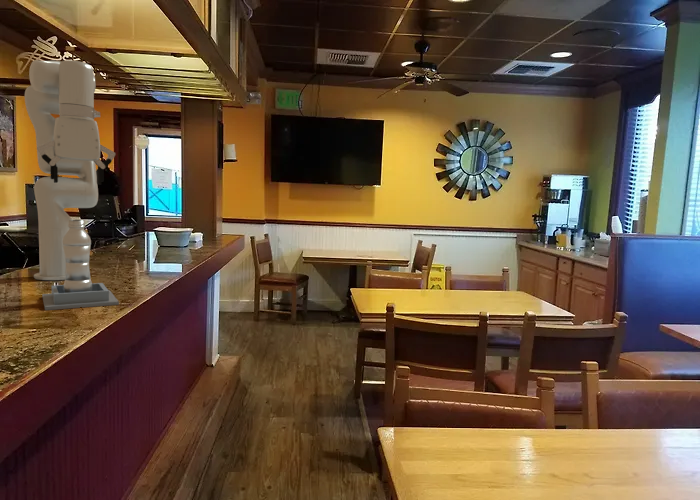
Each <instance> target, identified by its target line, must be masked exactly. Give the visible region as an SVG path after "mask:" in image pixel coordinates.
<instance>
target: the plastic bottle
mask: <svg viewBox="0 0 700 500" xmlns="http://www.w3.org/2000/svg"><path fill="white" fill-rule="evenodd" d="M68 227H69V231H68V232H67V233H66V234H65V236H64V238H63V248H64V253H65V261H66V273H65V280H63V281H64V283H63V285H64V293H72V292H88V291H92V283H93V282H92V279H91V272H90V271H91V270H90V255H91V254H90V252H91V245H92V240H91V236H90V235H89V234H88V232H86V230H85V228H86V220H85V219H72V220H69V225H68Z"/></svg>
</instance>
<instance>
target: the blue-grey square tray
mask: <svg viewBox="0 0 700 500" xmlns="http://www.w3.org/2000/svg"><path fill="white" fill-rule="evenodd" d="M42 301H43V302H42V303H43V306H44V310H45V311H51V310H52V311H53V310H66V309H67V310H68V309H69V310H70V309H80V307H82V308H93V307H104V306H105V307H106V306H107V307H108V306H118V305H120V303H119V300H118V299H117V297H116V296H115V295H114V294H113V292H112V291H111V290H110V289H108V288H107V287H106V286H105V284H104V283H103V282H96V283H95V282H94V283H93V282H92V291H88V292H72V293H64V284H60V285H59V284H56V285H51V293H42Z"/></svg>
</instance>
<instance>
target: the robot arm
mask: <svg viewBox="0 0 700 500" xmlns="http://www.w3.org/2000/svg"><path fill="white" fill-rule="evenodd" d="M28 73H29V75H28V79H29V81H30V85H29V86H27V87H26V89H25V91H24V103H25V108H26V112H27V114H28V117H29V120H30V122H31V124H32V125H33V129H34V132H35V141H36V143H35V144H36V154H37V155H36V156H37V157H36V158H37V163H38V168H39V169H40V171H41V172H43V173H45V174H49V175H50V176H44V177H41V178H38V179H37V180H36V181H35V183H34V187H33V191H34V192H33V193H34V197H35V202H36V208H37V219H38V247H39V249H38V251H39V252H38V253H39V255H38V256H39V272H37V273H34V274H33V278H34V279H35V280H40V281H65V273H66V261H65V253H64V248H63V238H64V236H65V234H66V233H67V232H68V231H69V227H68V225H69V220H73V219H72V217H71V216H70V215H69V214H68V213H67V212H66V211H65V209H91V208H94V207H95V206H97V204H98V201H99V188H98V185H102V182H105V173H104V172H105V169H106V168H107V167H108V166H109V165H110V164H112V162H113V159H114V158H115V156H116V152H114V151H113V150H111V149H110V148H108V147H106V146H103V144H101V142H100V141H101V140H100V131H99V127H98V123H97V121H96V120H95V118H101V112H100V111H97V110H96V109H95V107H94V105H95V102H94V100H95V99H94V98H95V97H94V95H95V91H96V86H97V85H96V77H95V74H94V68H93V67H92V66H91V65H90V64H89V63H86V62H83V61H80V60H72V59H69V60H67V59H66V60H62V61H61V60H38V59H34V60H33V61H32V62H31V64H30V66H29V71H28ZM52 114H53V115H59V116H58V117H54V116H53V115H52ZM101 152H102V153H104V154H106V155H107V157H106V159H105V160H104V161H103V162H102V160H101V159H100V158H101ZM58 175H60V176H58ZM67 176H68V177H67ZM69 176H75V177H69ZM76 176H77V177H76Z"/></svg>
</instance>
